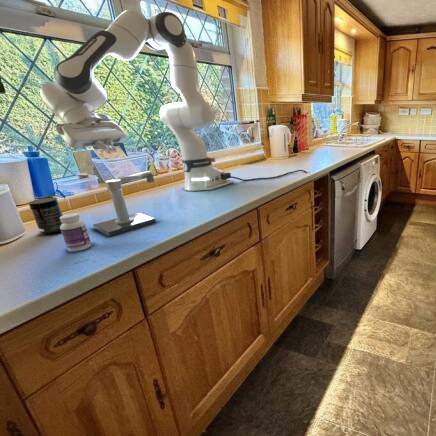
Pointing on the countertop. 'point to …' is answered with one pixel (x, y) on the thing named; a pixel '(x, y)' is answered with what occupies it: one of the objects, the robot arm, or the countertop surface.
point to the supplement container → (47, 215)
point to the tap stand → (122, 217)
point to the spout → (128, 180)
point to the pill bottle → (74, 232)
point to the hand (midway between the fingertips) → (112, 151)
